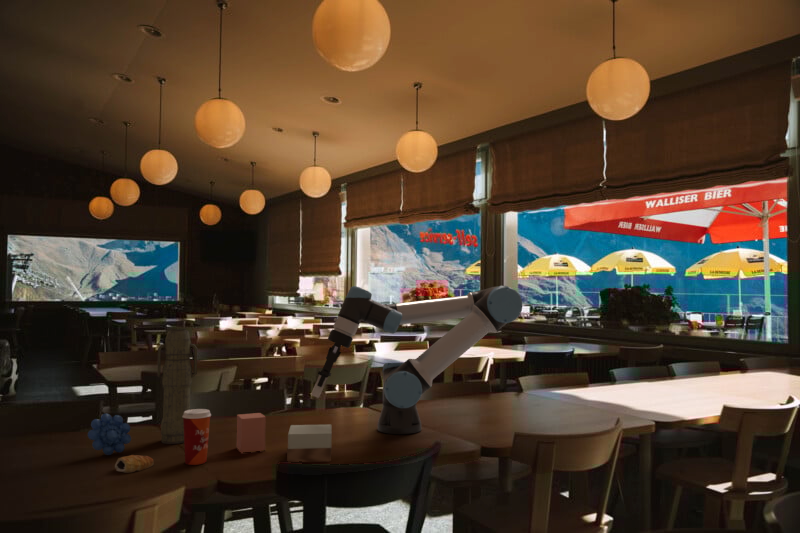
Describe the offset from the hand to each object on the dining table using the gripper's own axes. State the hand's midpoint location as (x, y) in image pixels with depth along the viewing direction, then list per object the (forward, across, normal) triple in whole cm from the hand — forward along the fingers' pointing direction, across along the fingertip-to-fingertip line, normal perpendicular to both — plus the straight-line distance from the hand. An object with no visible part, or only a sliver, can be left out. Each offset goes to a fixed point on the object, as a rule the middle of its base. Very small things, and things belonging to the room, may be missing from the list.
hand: (315, 394), depth 193 cm
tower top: (+12, +16, +4) cm, 20 cm away
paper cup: (+28, +20, -22) cm, 41 cm away
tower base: (+15, +16, +6) cm, 23 cm away
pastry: (+34, +25, -36) cm, 56 cm away
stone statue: (+31, -6, -34) cm, 47 cm away
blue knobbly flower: (+37, +11, -47) cm, 61 cm away
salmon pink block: (+22, +7, -11) cm, 25 cm away
